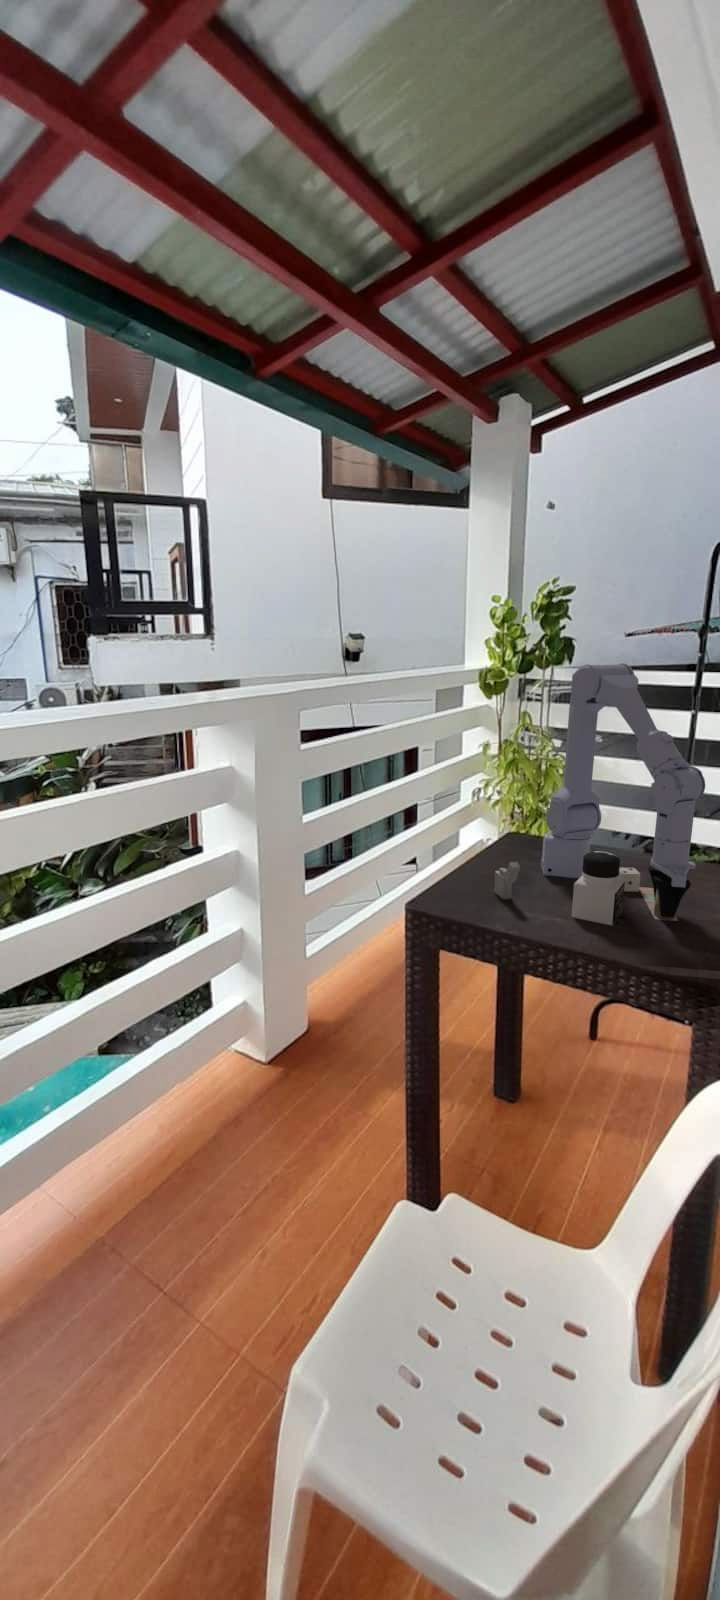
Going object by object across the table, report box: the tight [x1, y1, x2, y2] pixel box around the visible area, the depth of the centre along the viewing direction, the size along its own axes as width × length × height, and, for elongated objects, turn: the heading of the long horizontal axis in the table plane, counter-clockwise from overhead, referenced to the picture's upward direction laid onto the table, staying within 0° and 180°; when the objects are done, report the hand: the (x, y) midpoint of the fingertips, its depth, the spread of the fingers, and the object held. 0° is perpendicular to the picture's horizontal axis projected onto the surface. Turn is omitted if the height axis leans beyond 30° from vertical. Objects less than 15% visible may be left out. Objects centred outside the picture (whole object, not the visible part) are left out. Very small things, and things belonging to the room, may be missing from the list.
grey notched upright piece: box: [493, 861, 521, 900], centre depth 133 cm, size 7×2×8 cm, turn 14°
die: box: [619, 867, 641, 893], centre depth 136 cm, size 4×4×4 cm
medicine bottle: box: [571, 850, 625, 926], centre depth 122 cm, size 7×7×12 cm
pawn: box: [653, 888, 676, 919], centre depth 122 cm, size 3×3×7 cm
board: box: [639, 886, 679, 922], centre depth 129 cm, size 8×19×1 cm, turn 169°
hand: (664, 911), depth 123 cm, fingers closed on pawn, 3 cm apart
